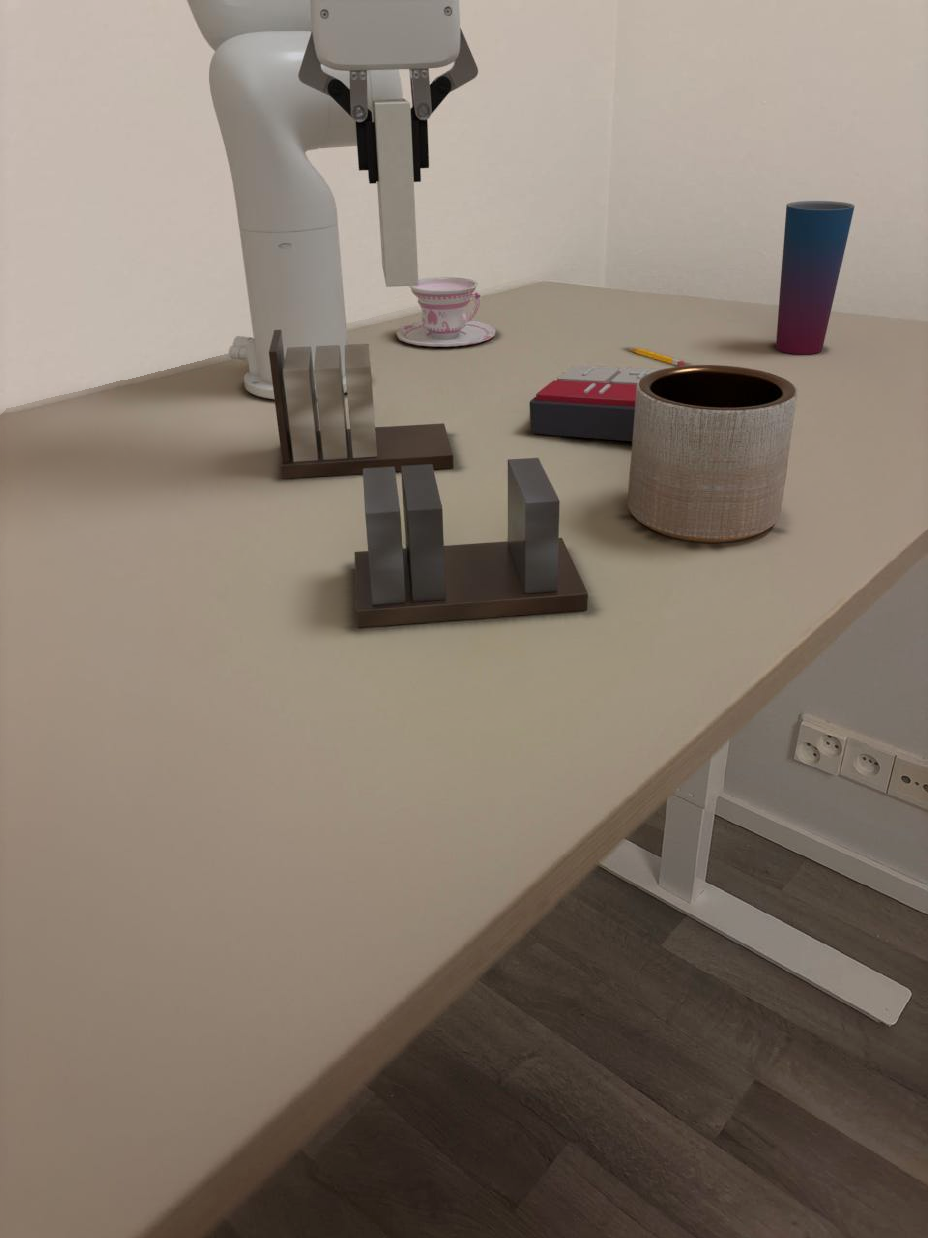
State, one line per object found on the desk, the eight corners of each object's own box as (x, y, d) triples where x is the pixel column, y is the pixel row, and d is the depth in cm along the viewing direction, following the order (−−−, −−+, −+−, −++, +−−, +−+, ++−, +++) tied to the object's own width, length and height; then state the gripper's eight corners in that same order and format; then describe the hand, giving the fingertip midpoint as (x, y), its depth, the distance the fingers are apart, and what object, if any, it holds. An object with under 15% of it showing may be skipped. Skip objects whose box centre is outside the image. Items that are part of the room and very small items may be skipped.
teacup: (377, 341, 116) (373, 288, 113) (432, 320, 125) (430, 270, 122) (462, 353, 110) (460, 297, 107) (513, 330, 119) (513, 278, 116)
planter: (596, 511, 72) (602, 383, 67) (694, 474, 77) (706, 355, 72) (710, 562, 64) (727, 422, 59) (810, 517, 70) (833, 387, 65)
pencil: (678, 368, 104) (679, 362, 104) (624, 352, 110) (625, 346, 110) (684, 367, 105) (684, 360, 104) (630, 350, 111) (630, 344, 110)
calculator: (569, 360, 93) (726, 368, 87) (570, 404, 95) (724, 414, 89) (527, 393, 85) (698, 403, 79) (529, 440, 87) (695, 454, 81)
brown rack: (282, 478, 79) (266, 353, 74) (287, 445, 86) (273, 328, 80) (453, 468, 80) (449, 344, 75) (444, 435, 87) (440, 320, 82)
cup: (837, 344, 110) (861, 202, 102) (821, 359, 105) (845, 210, 97) (777, 338, 113) (796, 199, 106) (759, 351, 108) (778, 207, 101)
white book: (386, 286, 72) (374, 103, 66) (382, 266, 78) (371, 98, 72) (418, 285, 72) (410, 102, 66) (411, 265, 79) (403, 97, 73)
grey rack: (357, 628, 58) (347, 517, 54) (355, 567, 65) (346, 466, 61) (587, 610, 59) (592, 501, 55) (561, 552, 66) (564, 452, 62)
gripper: (493, -123, 66) (495, 171, 76) (256, -121, 65) (287, 179, 74) (509, -142, 60) (509, 182, 69) (246, -140, 59) (282, 190, 68)
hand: (394, 178), depth 72 cm, fingers closed on white book, 2 cm apart
